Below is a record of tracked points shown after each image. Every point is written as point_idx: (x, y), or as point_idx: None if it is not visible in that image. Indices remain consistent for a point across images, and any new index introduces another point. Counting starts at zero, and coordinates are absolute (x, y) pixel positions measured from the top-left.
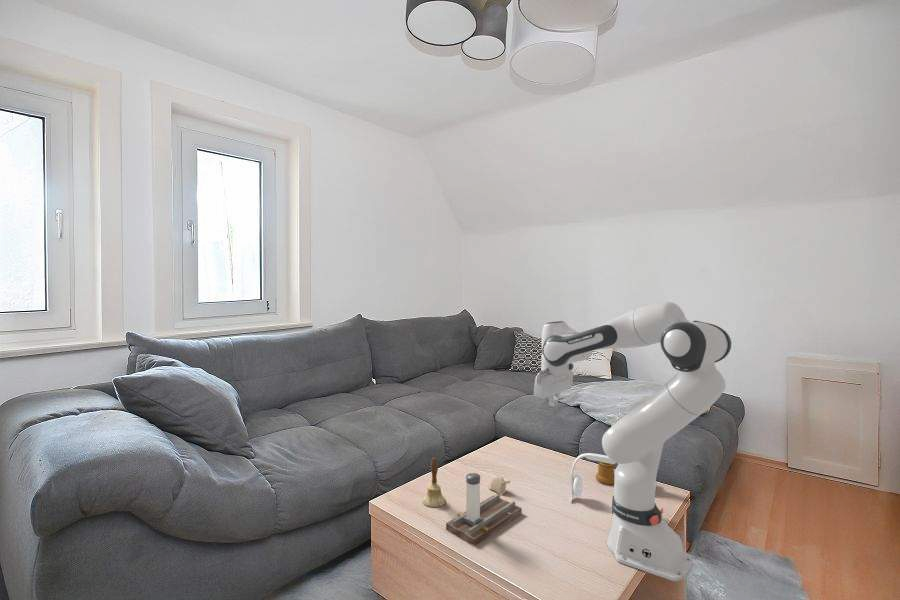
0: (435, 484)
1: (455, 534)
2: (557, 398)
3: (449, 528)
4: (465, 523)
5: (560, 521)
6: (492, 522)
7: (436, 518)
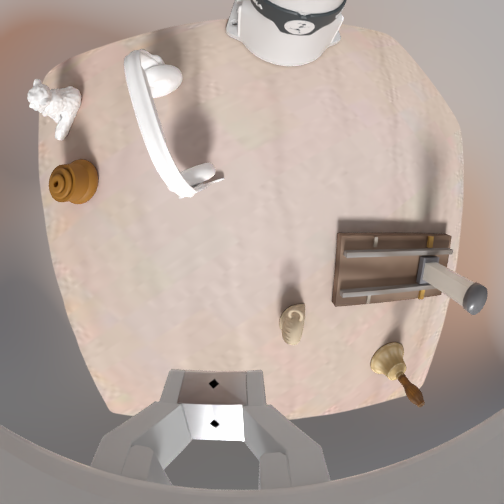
0: (402, 372)
1: None
2: (166, 417)
3: None
4: None
5: (307, 157)
6: (410, 245)
7: (421, 320)
